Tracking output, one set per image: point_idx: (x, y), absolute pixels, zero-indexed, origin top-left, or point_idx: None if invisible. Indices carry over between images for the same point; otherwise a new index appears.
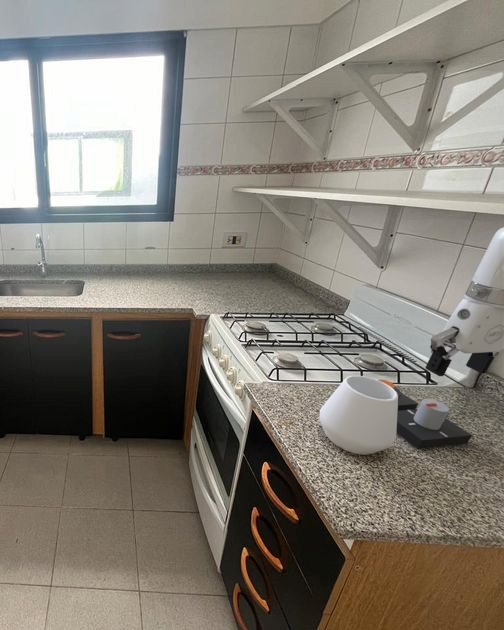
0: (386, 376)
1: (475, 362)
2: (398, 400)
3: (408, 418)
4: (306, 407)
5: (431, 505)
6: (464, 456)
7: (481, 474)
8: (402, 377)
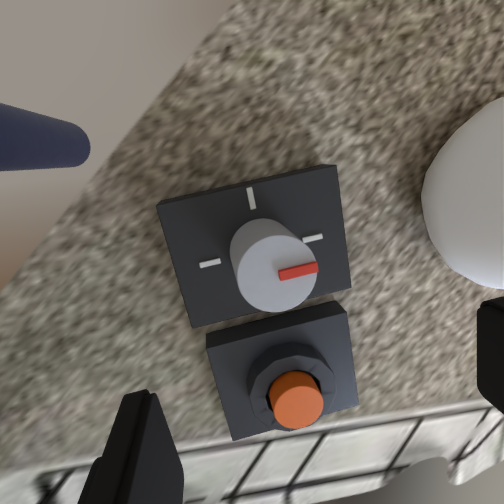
0: None
1: (166, 495)
2: (259, 354)
3: None
4: None
5: None
6: (211, 144)
7: (221, 70)
8: None
